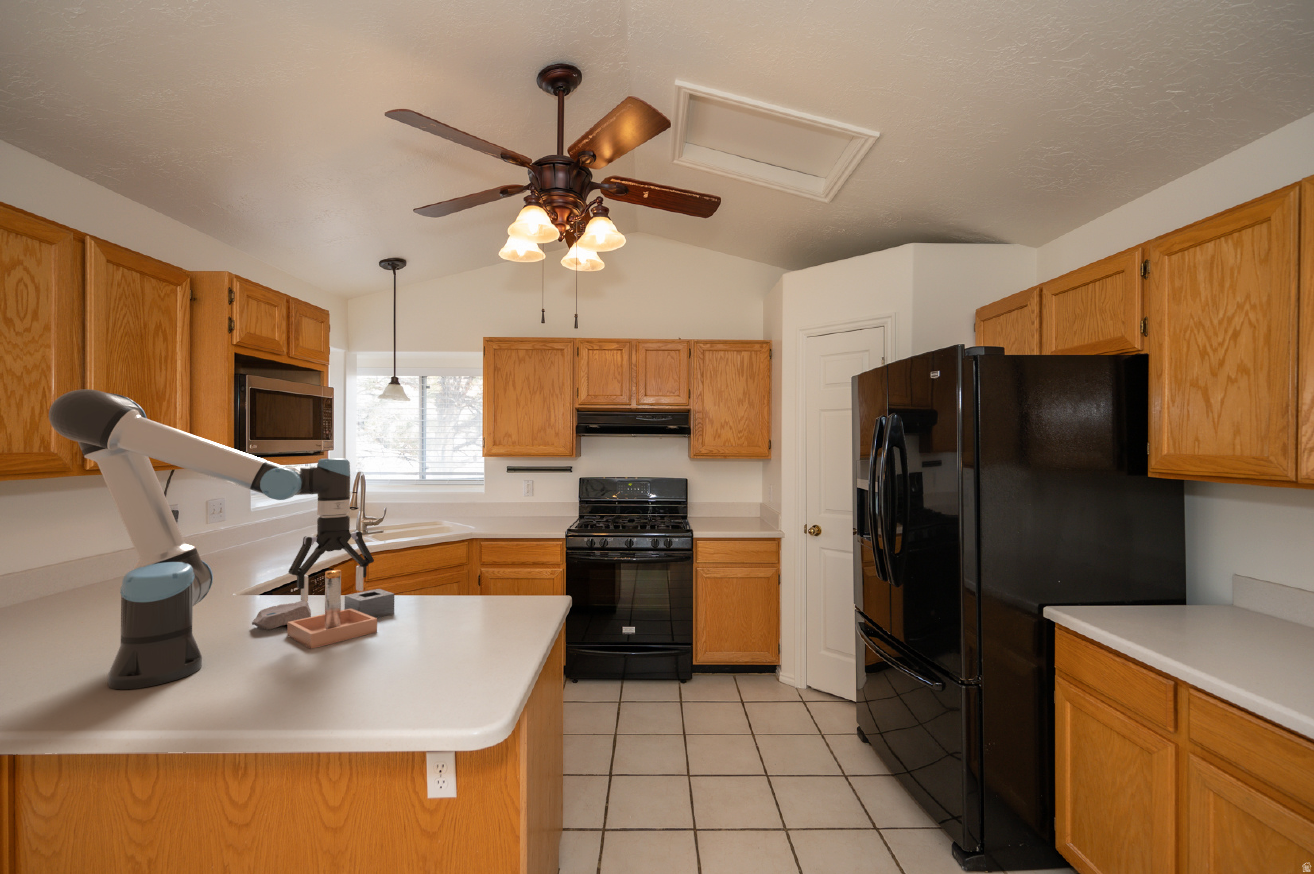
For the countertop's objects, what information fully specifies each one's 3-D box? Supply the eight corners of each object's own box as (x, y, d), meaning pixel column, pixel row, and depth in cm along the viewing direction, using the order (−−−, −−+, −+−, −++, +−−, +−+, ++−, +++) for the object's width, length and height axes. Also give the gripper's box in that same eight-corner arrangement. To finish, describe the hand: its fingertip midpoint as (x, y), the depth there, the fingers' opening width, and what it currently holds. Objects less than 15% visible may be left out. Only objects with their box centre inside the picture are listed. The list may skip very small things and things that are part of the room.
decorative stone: (255, 636, 145) (256, 613, 145) (251, 627, 152) (252, 606, 153) (313, 625, 154) (314, 604, 154) (307, 618, 161) (308, 598, 161)
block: (359, 621, 157) (359, 600, 157) (344, 615, 163) (344, 595, 163) (394, 613, 164) (394, 593, 165) (378, 607, 171) (378, 588, 171)
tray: (310, 648, 135) (311, 634, 135) (287, 635, 145) (287, 621, 145) (377, 631, 148) (377, 618, 148) (351, 620, 158) (351, 608, 158)
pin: (328, 634, 144) (328, 573, 144) (322, 631, 146) (323, 571, 147) (342, 631, 147) (343, 571, 147) (337, 628, 149) (337, 569, 149)
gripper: (285, 521, 135) (284, 608, 135) (387, 512, 155) (386, 588, 154) (274, 519, 140) (273, 603, 139) (374, 510, 159) (374, 584, 159)
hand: (332, 595), depth 147 cm, fingers open, 13 cm apart
